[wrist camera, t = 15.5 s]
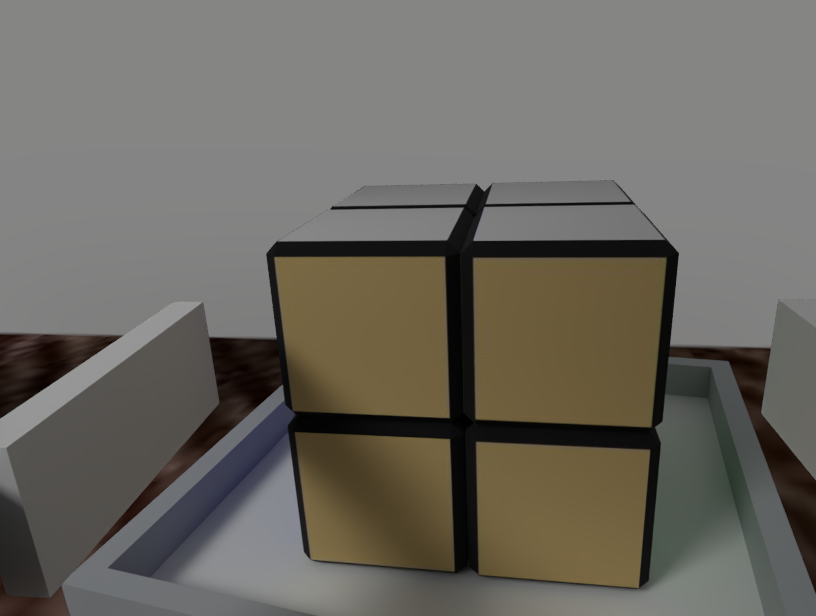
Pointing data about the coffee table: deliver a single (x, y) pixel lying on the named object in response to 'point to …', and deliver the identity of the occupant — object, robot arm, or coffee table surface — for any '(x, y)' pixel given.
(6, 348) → the coffee table surface
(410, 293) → the puzzle cube
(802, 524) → the coffee table surface
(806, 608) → the shallow square tray
